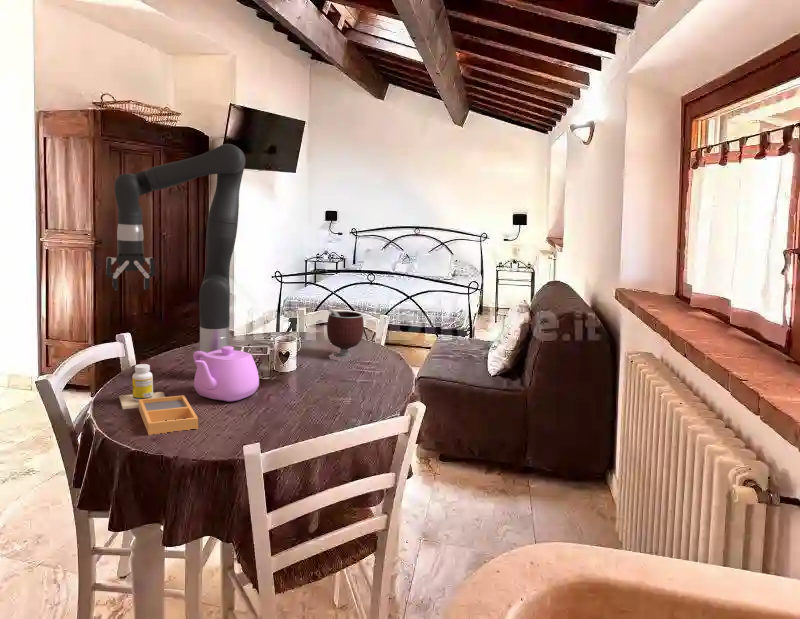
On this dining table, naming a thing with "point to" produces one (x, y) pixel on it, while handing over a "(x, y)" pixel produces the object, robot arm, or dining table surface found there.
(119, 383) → the dining table surface
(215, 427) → the dining table surface
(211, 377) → the teapot
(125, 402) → the mat
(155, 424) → the divided wooden tray
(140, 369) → the supplement bottle
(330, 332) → the mate gourd
